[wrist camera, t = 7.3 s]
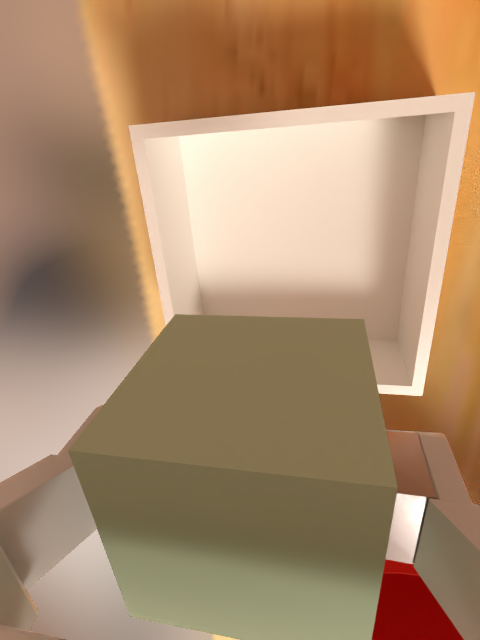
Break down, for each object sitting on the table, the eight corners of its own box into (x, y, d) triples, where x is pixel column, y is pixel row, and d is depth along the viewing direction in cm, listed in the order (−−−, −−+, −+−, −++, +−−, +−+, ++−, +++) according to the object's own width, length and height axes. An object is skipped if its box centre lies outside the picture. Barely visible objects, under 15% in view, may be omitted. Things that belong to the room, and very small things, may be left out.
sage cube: (364, 319, 8) (397, 488, 5) (351, 463, 10) (367, 666, 7) (175, 313, 9) (67, 450, 5) (197, 447, 11) (130, 616, 7)
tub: (437, 100, 19) (475, 91, 14) (403, 344, 25) (422, 396, 20) (171, 125, 22) (128, 125, 17) (201, 337, 28) (176, 381, 23)
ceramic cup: (300, 556, 38) (293, 684, 29) (309, 429, 30) (303, 552, 21) (439, 581, 35) (476, 729, 27) (488, 449, 28) (562, 598, 19)
